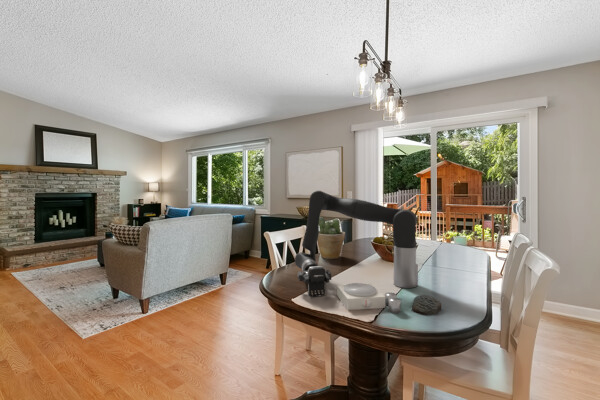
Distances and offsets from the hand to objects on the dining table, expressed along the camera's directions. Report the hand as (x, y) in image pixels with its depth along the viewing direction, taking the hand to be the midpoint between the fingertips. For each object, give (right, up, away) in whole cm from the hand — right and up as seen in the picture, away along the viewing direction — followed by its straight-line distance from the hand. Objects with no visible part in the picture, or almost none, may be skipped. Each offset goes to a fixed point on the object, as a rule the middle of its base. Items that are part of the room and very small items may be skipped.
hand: (317, 281), depth 111 cm
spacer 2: (+26, -7, -12) cm, 30 cm away
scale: (+16, -7, -4) cm, 17 cm away
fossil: (+38, -7, -9) cm, 39 cm away
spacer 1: (+26, -7, -7) cm, 28 cm away
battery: (0, -7, +2) cm, 7 cm away
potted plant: (+12, -4, +68) cm, 69 cm away
